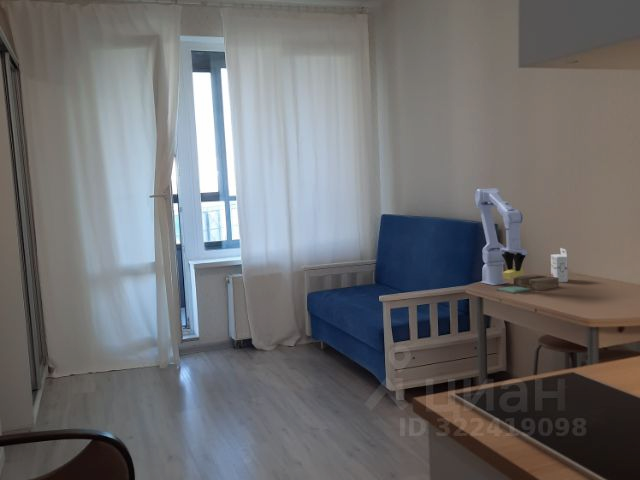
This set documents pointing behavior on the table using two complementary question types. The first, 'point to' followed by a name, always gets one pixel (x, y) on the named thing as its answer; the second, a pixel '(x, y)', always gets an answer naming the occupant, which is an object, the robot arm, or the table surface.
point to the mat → (513, 289)
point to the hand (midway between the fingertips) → (514, 270)
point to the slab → (512, 273)
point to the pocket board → (536, 282)
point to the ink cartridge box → (559, 266)
